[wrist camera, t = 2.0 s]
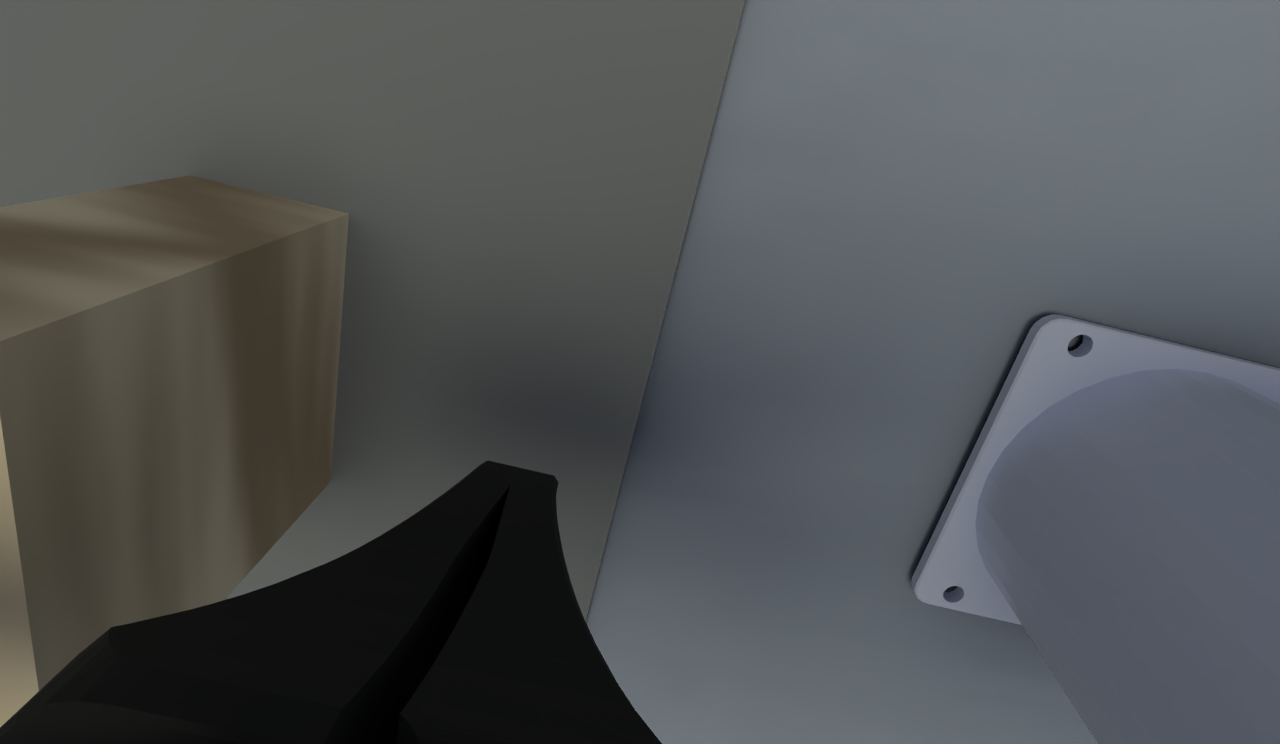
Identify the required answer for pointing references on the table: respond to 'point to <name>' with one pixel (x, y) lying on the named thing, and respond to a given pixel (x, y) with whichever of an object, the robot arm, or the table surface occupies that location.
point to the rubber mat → (416, 209)
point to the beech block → (155, 404)
